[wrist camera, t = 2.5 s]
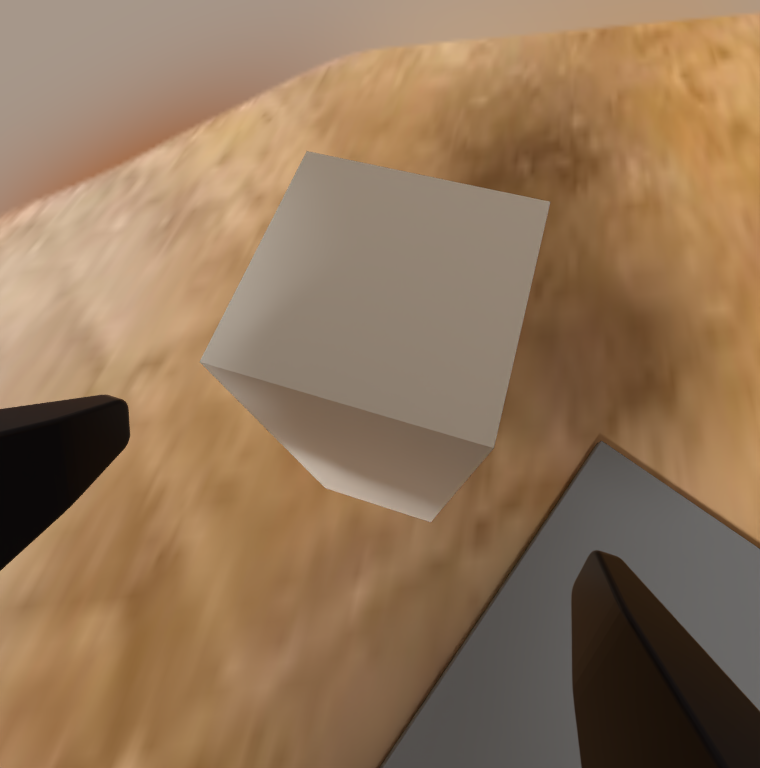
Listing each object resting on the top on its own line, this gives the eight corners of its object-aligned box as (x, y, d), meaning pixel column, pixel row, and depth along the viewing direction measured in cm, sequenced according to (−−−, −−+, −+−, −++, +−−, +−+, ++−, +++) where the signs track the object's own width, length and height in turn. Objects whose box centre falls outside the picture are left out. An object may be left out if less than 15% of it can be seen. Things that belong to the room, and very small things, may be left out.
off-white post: (430, 522, 18) (493, 448, 6) (325, 488, 18) (199, 361, 7) (457, 418, 19) (550, 201, 8) (359, 390, 20) (306, 151, 8)
